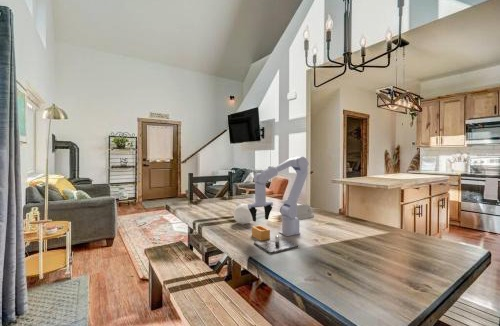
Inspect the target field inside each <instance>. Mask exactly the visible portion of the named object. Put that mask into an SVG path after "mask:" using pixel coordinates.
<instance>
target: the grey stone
mask: <svg viewBox="0 0 500 326" xmlns="http://www.w3.org/2000/svg"><path fill="white" fill-rule="evenodd" d="M297 206H298V209H297V216H296V217H297V218H298V219H299V220H304V219H311V218H315V214H313V212H312V208H311V206H310V205H308V204H297Z"/></svg>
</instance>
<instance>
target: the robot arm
mask: <svg viewBox="0 0 500 326" xmlns="http://www.w3.org/2000/svg"><path fill="white" fill-rule="evenodd" d="M308 166H309V161H308V159H307V158H306V157H304V156H292V157H291V158H288V159H286V160H284V161H283V162H281V163H280V164H278V165H276V166H274V165H273V166H270V165H269V166H267V168H266V169H264V170H260V172H257V173H255V174H254V176H253V178H252V180H253V182H254V202H253V203H247V204H248V208H249V210H250V212H251V215H252V218H253V219H252V221H253V222H256V221H257V211H258V209H256V208H264V209H263V210H264V220H267V221H268V220H269V218H270V214H271V211H272V210H273V205H274V203H273V201H267V198H266V197H267V195H266V193H267V192H266V188H267V186H266V184H267V182H268V181H269V180H271V179H273V178H274V177H276V176H278V174H279V172H282V171H285V170H286V169H288V168H290V167H291V168H293V170H294V171H295V172H296V176H295V179H294V182H293V185H292V187H291V190H290V192H289V194H288V198H287V200H285V201H283V204H282V205H281V206H280V208H279V212H280V215H281V230H280V231H278V233H280V234H281V235H283V236H285V237H289V236H294V235H295V236H296V235H300V234H301V232H300V219H298V218H297V217H296V216H297V209H298V206H297V205H298V200H299V199H300V195H301V192H302V190H303V188H304V184H305V182H306V181H307V180H306V179H307V177H308Z"/></svg>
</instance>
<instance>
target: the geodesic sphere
mask: <svg viewBox="0 0 500 326" xmlns="http://www.w3.org/2000/svg"><path fill="white" fill-rule="evenodd" d="M248 204H249V203H245V202H242V203H237V204H235V207H234V210H233V214H232V215H233V219H234V221H235V222H236V223H237V224H240V225H243V226H244V225H248V224H249V223H250V222H252V221H253V218H252V215H251V212H250V210H249V208H248Z"/></svg>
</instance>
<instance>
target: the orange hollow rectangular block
mask: <svg viewBox="0 0 500 326" xmlns="http://www.w3.org/2000/svg"><path fill="white" fill-rule="evenodd" d="M251 236H252V237H254V238H255V239H257V240H258V241H261V240H266V239H271V229H270V228H267V227H265V226H263V225H260V224H258V225H253V226H251Z"/></svg>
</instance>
